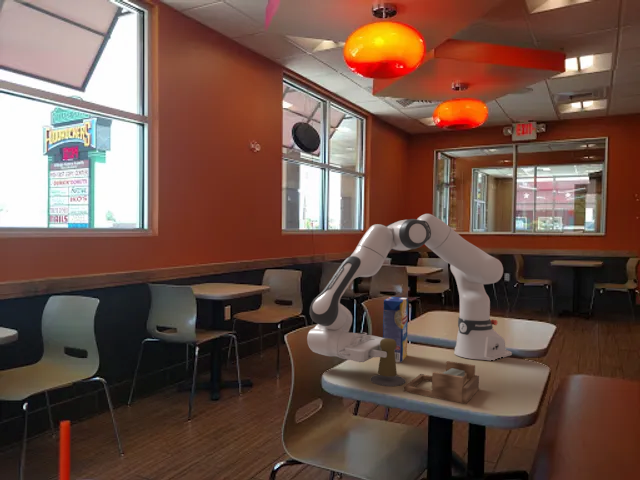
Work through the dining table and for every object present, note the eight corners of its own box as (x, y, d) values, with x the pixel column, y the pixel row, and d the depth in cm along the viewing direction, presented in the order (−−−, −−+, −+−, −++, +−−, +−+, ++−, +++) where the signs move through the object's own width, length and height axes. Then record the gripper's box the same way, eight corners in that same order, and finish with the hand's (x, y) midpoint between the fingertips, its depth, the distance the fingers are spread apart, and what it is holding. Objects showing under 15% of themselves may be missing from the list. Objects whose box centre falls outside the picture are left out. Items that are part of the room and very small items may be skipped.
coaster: (391, 373, 161) (391, 372, 161) (412, 383, 151) (412, 382, 151) (363, 378, 156) (363, 377, 156) (384, 388, 146) (384, 387, 146)
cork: (394, 370, 157) (396, 337, 156) (398, 376, 151) (399, 341, 150) (376, 370, 157) (377, 336, 156) (379, 376, 151) (380, 341, 150)
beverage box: (407, 355, 185) (408, 297, 185) (401, 362, 175) (402, 301, 174) (389, 353, 188) (390, 296, 187) (382, 360, 177) (383, 300, 177)
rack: (403, 391, 144) (403, 367, 143) (420, 378, 156) (421, 356, 156) (465, 403, 134) (466, 378, 134) (478, 389, 147) (479, 366, 147)
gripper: (336, 342, 151) (377, 349, 144) (365, 331, 169) (402, 336, 161) (335, 362, 151) (376, 370, 144) (364, 349, 169) (402, 355, 162)
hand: (390, 352), depth 153 cm, fingers closed on cork, 4 cm apart
